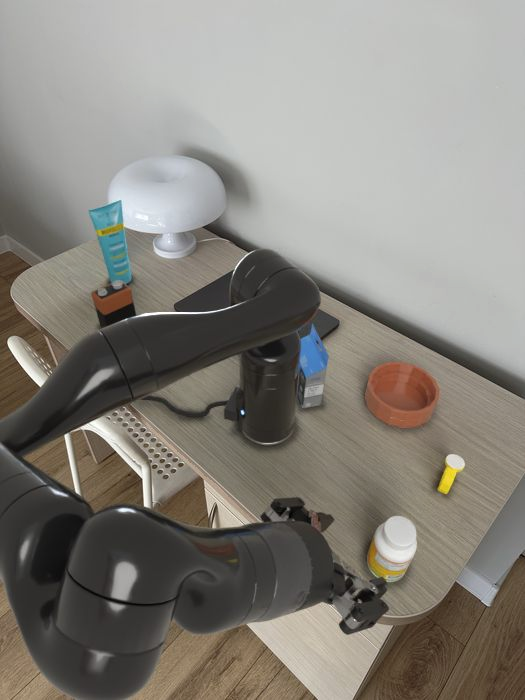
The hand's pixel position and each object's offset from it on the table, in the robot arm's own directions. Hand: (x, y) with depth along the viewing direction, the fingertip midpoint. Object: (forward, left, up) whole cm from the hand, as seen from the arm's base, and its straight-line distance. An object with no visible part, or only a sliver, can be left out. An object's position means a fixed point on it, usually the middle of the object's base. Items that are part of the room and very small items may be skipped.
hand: (352, 553), depth 55 cm
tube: (-64, +54, -14) cm, 84 cm away
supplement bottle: (+5, +7, -14) cm, 16 cm away
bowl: (+3, +37, -14) cm, 39 cm away
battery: (-56, +39, -14) cm, 70 cm away
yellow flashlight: (+12, +22, -14) cm, 29 cm away
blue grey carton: (-14, +34, -14) cm, 40 cm away
